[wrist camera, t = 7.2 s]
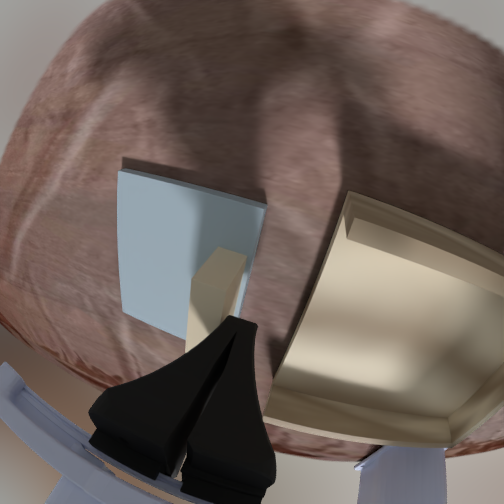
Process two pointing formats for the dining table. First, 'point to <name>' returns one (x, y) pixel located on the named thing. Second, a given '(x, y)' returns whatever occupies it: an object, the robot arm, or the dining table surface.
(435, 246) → the birch box
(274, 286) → the dining table surface
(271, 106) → the dining table surface
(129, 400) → the robot arm
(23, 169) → the dining table surface
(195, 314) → the cover plate
